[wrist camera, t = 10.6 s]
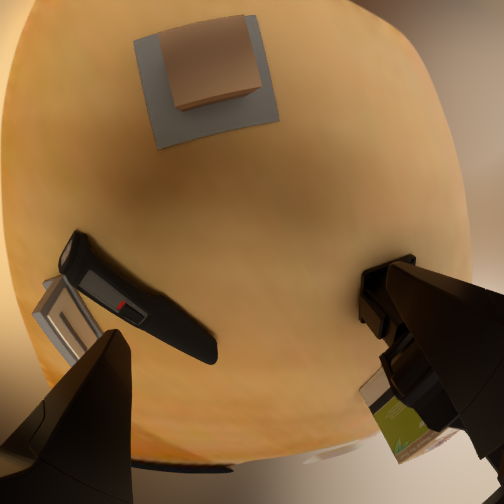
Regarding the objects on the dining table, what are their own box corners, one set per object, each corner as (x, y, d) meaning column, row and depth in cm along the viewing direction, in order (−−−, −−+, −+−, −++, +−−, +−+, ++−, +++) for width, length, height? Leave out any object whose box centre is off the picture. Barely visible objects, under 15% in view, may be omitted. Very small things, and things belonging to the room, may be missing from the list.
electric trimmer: (198, 350, 25) (200, 376, 22) (59, 257, 18) (43, 278, 15) (224, 329, 24) (229, 355, 21) (79, 223, 17) (62, 242, 14)
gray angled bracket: (67, 273, 18) (43, 310, 14) (104, 335, 21) (93, 376, 17) (44, 280, 18) (19, 316, 14) (81, 339, 21) (67, 378, 17)
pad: (254, 16, 12) (255, 14, 12) (278, 121, 16) (279, 121, 16) (134, 42, 12) (133, 41, 12) (158, 149, 16) (157, 150, 15)
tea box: (440, 351, 36) (483, 408, 23) (403, 390, 40) (439, 447, 27) (401, 342, 31) (459, 422, 18) (356, 389, 34) (397, 468, 21)
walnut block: (244, 96, 15) (262, 86, 11) (182, 111, 15) (175, 106, 10) (231, 42, 13) (243, 14, 9) (168, 56, 13) (157, 32, 8)
